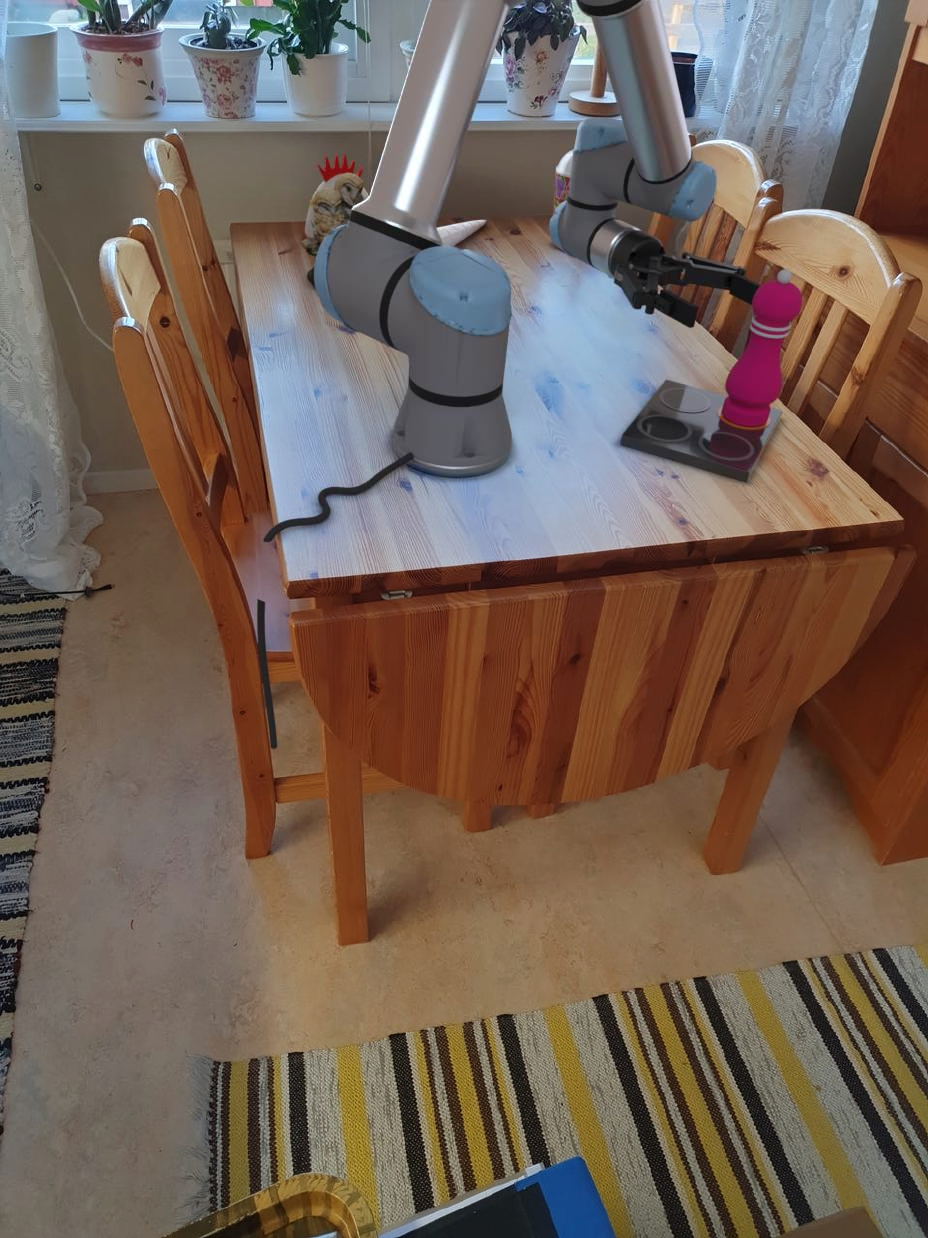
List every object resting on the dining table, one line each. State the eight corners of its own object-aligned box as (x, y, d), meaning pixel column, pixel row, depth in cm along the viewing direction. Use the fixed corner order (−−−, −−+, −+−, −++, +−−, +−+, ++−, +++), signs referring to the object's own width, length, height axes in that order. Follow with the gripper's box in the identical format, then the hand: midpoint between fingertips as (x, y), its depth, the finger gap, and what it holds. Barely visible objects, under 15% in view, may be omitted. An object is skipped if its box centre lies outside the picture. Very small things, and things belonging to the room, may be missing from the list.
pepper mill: (707, 407, 127) (744, 261, 114) (749, 399, 130) (790, 256, 117) (739, 432, 123) (782, 283, 110) (782, 423, 125) (829, 277, 112)
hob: (746, 482, 116) (750, 471, 115) (619, 444, 121) (622, 434, 120) (779, 420, 129) (782, 410, 128) (663, 388, 135) (666, 378, 134)
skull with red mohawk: (298, 230, 175) (293, 144, 166) (368, 226, 180) (367, 142, 170) (315, 256, 166) (311, 167, 156) (388, 251, 170) (389, 164, 160)
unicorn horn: (502, 227, 184) (504, 202, 180) (439, 261, 168) (440, 234, 165) (482, 222, 185) (483, 197, 182) (417, 255, 170) (417, 228, 166)
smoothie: (540, 239, 180) (553, 126, 167) (579, 237, 182) (595, 125, 169) (556, 254, 174) (570, 138, 161) (596, 252, 176) (614, 138, 163)
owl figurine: (314, 299, 151) (309, 189, 140) (293, 273, 159) (286, 166, 148) (415, 287, 158) (418, 181, 147) (390, 263, 166) (391, 160, 154)
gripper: (685, 268, 143) (788, 320, 130) (557, 293, 132) (655, 352, 119) (696, 218, 138) (804, 266, 125) (564, 240, 127) (667, 295, 114)
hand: (732, 308), depth 122 cm, fingers open, 13 cm apart
